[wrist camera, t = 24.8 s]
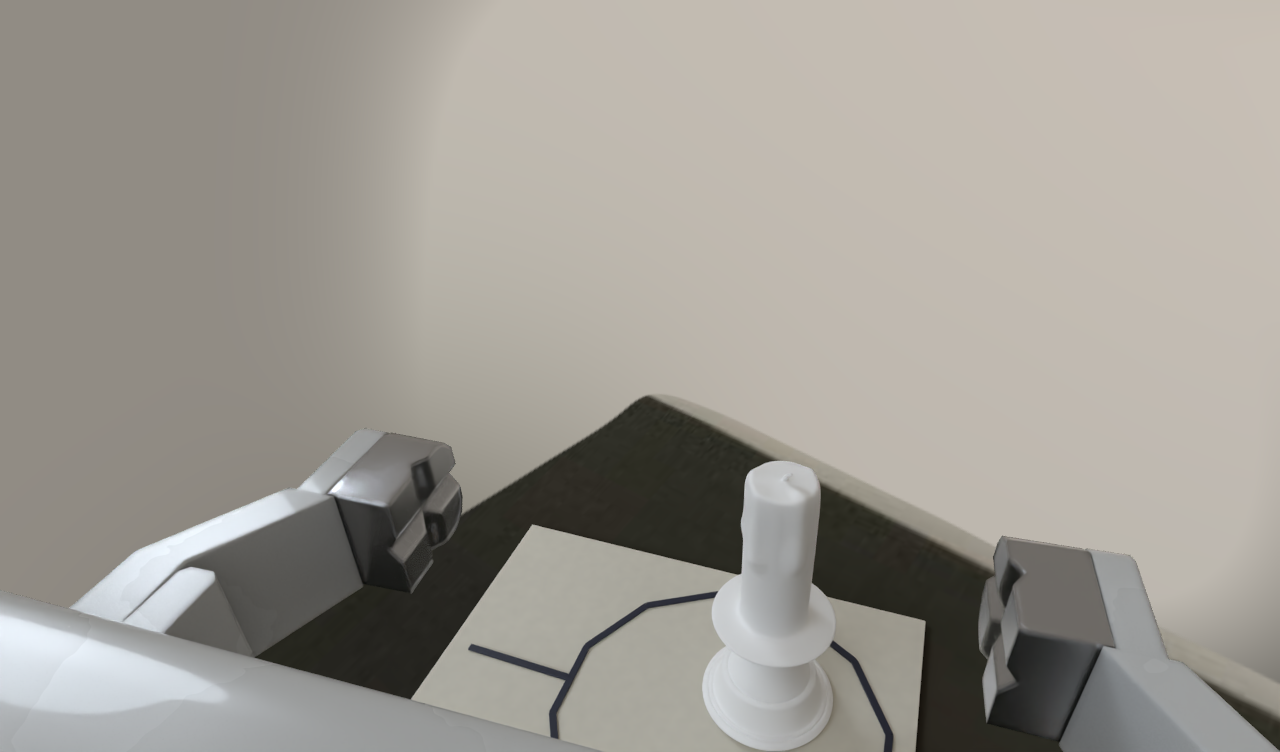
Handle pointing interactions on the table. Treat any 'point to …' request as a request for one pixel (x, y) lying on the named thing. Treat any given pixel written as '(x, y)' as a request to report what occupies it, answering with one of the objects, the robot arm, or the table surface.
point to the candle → (773, 619)
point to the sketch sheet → (649, 655)
